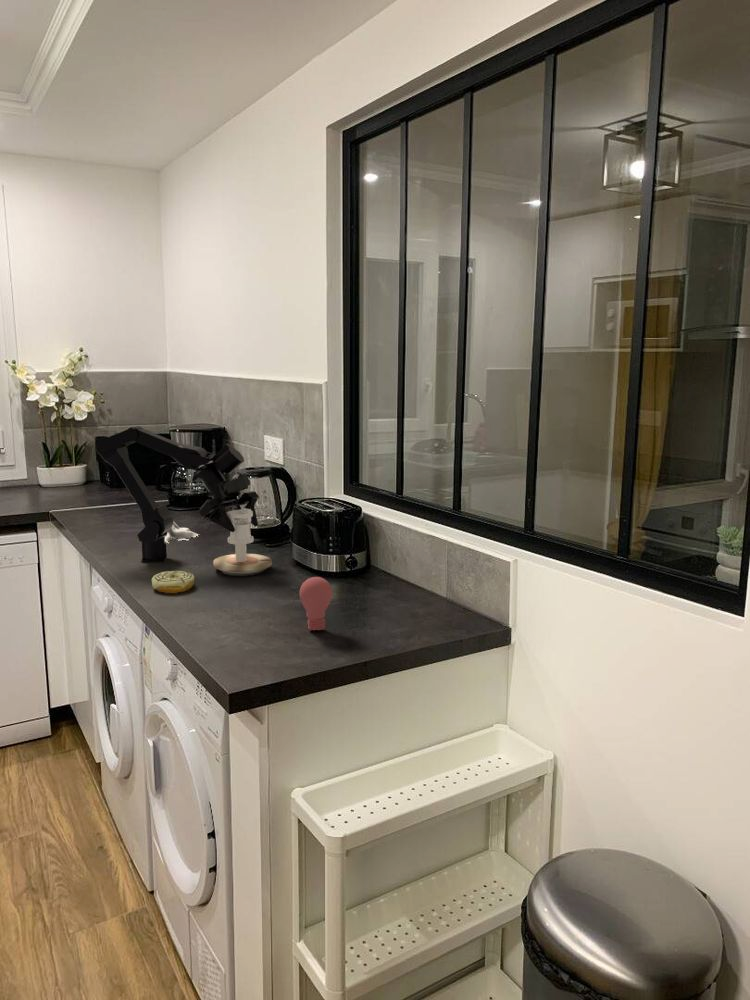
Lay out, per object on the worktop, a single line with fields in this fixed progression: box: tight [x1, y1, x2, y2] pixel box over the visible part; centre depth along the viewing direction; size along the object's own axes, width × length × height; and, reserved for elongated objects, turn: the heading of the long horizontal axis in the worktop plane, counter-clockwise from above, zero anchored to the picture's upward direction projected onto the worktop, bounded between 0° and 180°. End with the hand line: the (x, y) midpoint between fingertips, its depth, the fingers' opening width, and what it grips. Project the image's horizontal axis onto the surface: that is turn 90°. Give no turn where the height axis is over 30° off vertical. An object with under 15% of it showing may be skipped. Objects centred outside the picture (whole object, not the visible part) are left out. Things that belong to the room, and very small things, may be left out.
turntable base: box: [220, 569, 265, 577], centre depth 209 cm, size 12×12×2 cm
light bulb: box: [299, 576, 333, 631], centre depth 163 cm, size 7×7×12 cm
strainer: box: [226, 508, 255, 562], centre depth 207 cm, size 7×7×15 cm
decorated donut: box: [151, 570, 195, 594], centre depth 191 cm, size 10×11×4 cm
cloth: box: [164, 520, 199, 544], centre depth 246 cm, size 22×19×6 cm
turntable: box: [212, 553, 273, 572], centre depth 209 cm, size 16×16×1 cm
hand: (245, 528), depth 206 cm, fingers open, 9 cm apart
